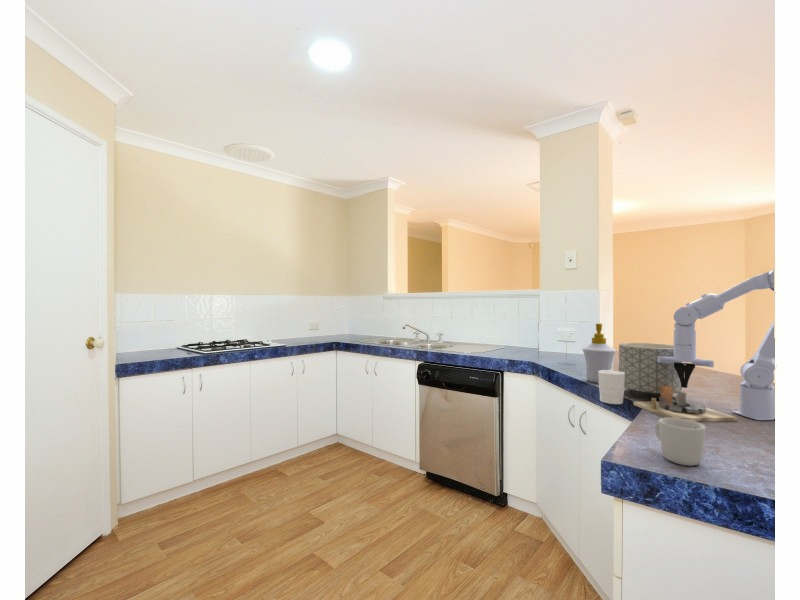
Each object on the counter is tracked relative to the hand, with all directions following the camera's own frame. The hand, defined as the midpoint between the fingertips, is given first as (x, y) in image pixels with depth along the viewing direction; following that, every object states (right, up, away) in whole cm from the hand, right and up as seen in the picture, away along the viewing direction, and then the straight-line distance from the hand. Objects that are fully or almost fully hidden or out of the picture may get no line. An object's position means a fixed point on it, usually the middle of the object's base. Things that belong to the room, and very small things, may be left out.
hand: (684, 387), depth 124 cm
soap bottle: (-7, -7, +40) cm, 41 cm away
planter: (-2, -7, +15) cm, 17 cm away
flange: (-5, -5, -4) cm, 8 cm away
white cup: (-20, -7, +6) cm, 22 cm away
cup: (-32, -6, -42) cm, 53 cm away
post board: (-5, -6, -6) cm, 10 cm away
